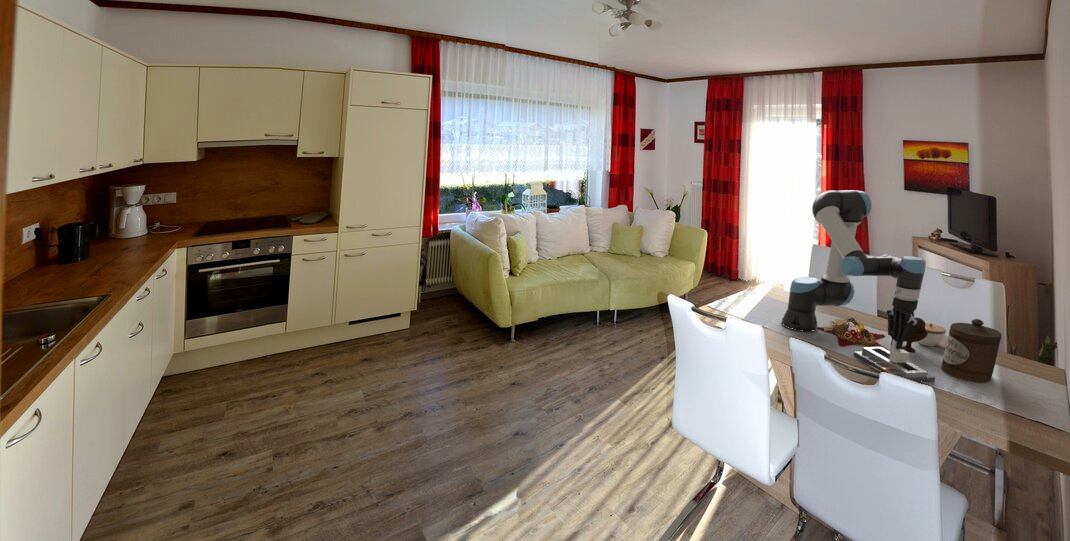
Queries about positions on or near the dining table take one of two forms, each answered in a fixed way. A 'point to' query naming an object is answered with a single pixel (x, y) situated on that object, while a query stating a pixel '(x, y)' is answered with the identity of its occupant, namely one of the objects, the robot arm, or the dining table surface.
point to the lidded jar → (933, 335)
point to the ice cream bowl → (916, 335)
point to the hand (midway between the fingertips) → (894, 355)
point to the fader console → (892, 364)
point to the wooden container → (971, 351)
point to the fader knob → (899, 357)
